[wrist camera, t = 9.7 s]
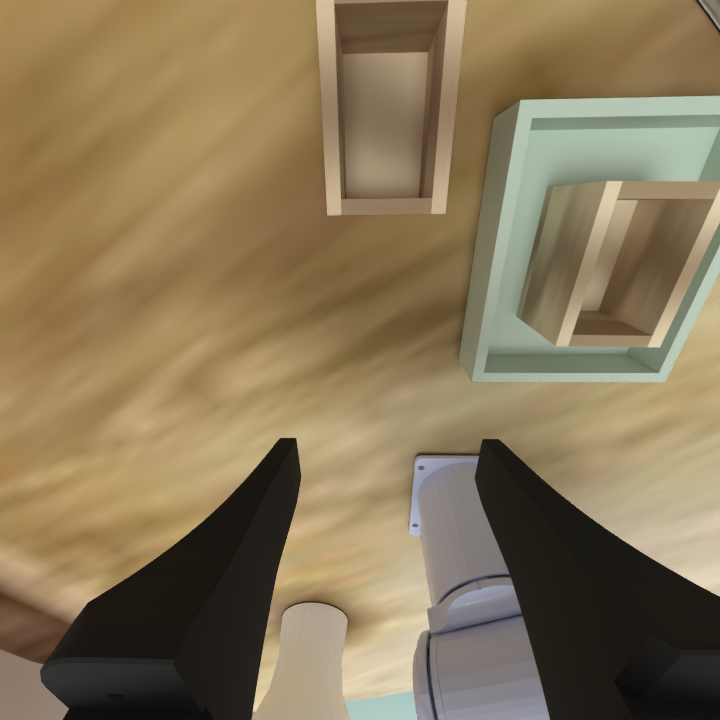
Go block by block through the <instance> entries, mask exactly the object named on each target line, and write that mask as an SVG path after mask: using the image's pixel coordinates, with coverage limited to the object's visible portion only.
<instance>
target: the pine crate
mask: <svg viewBox="0 0 720 720" xmlns="http://www.w3.org/2000/svg"><path fill="white" fill-rule="evenodd" d="M719 222H720V181H602V182H592V183H582V184H572V185H561V186H551V187H547V190H546V194H545V198H544V202H543V207H542V211H541V215H540V219H539V223H538V228H537V232H536V236H535V240H534V244H533V248H532V253H531V257H530V261H529V265H528V269H527V274H526V278H525V282H524V286H523V290H522V295H521V299H520V303H519V307H518V311H517V315H516V317H518V318H519V319H520V320H522V321H523V322H524V323H525V324H527V325H528V326H529V327H531V328H532V329H533V330H535V331H536V332H537V333H539V334H540V335H541V336H543V337H544V338H545V339H547V340H548V341H549V342H551V343H552V344H553V345H555V346H576V347H657V348H660V346H661V344H662V342H663V340H664V338H665V336H666V334H667V331H668V329H669V327H670V325H671V323H672V321H673V319H674V317H675V315H676V313H677V311H678V308H679V306H680V304H681V302H682V300H683V298H684V296H685V294H686V292H687V290H688V287H689V285H690V283H691V281H692V279H693V277H694V275H695V273H696V271H697V269H698V267H699V264H700V262H701V260H702V258H703V256H704V254H705V252H706V250H707V248H708V246H709V243H710V241H711V239H712V237H713V235H714V233H715V231H716V229H717V227H718V225H719Z"/></svg>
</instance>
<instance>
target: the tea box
mask: <svg viewBox="0 0 720 720" xmlns="http://www.w3.org/2000/svg"><path fill="white" fill-rule="evenodd" d="M698 1H699V2H700V3H701V4H702V6H703V7H704V9H705V10H706V11H707V12H708V14H709V15H710V16H711V18H712V19H713V21H714V22H715V23H716V25H717V26H718V28H719V29H720V0H698Z"/></svg>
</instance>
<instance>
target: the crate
mask: <svg viewBox="0 0 720 720" xmlns="http://www.w3.org/2000/svg"><path fill="white" fill-rule="evenodd" d="M466 4H467V0H316V10H317V29H318V48H319V67H320V86H321V105H322V124H323V143H324V162H325V181H326V199H327V215H392V214H445V213H446V203H447V193H448V183H449V173H450V163H451V153H452V143H453V133H454V123H455V113H456V104H457V94H458V84H459V74H460V64H461V54H462V44H463V34H464V24H465V14H466Z"/></svg>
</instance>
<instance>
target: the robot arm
mask: <svg viewBox="0 0 720 720" xmlns="http://www.w3.org/2000/svg"><path fill="white" fill-rule="evenodd" d="M421 465H422V466H421ZM419 466H421V467H419ZM300 481H301V471H300V464H299V456H298V448H297V441H296V438H280V439H279V440H278V441H277V443H276V444H275V445H274V446H273V448H272V449H271V450H270V451H269V453H268V454H267V455H266V456H265V458H264V459H263V460H262V461H261V462H260V464H259V465H258V466H257V467H256V468H255V469H254V470H253V472H252V473H251V474H250V475H249V476H248V477H247V479H246V480H245V481H244V482H243V483H242V484H241V485H240V486H239V487H238V488H237V489H236V490H235V491H234V492H233V493H232V494H231V495H230V497H229V498H228V499H227V500H226V501H225V502H224V503H222V504H221V505H220V506H219V507H218V508H217V509H216V510H215V511H214V512H213V513H212V514H211V515H210V516H209V517H207V518H206V519H205V520H204V521H203V522H202V523H201V524H199V525H198V526H197V527H196V528H195V529H193V530H192V531H191V532H190V533H189V534H187V535H186V536H185V537H184V538H182V539H181V540H180V541H179V542H177V543H176V544H175V545H174V546H172V547H171V548H170V549H168V550H167V551H166V552H164V553H163V554H161V555H160V556H159V557H157V558H156V559H155V560H153V561H152V562H150V563H149V564H147V565H146V566H145V567H143V568H142V569H140V570H139V571H137V572H136V573H134V574H133V575H131V576H130V577H128V578H127V579H125V580H124V581H122V582H120V583H119V584H117V585H116V586H114V587H112V588H111V589H109V590H108V591H106V592H105V593H103V594H101V595H100V596H98V597H97V598H95V599H93V600H92V601H90V602H88V603H87V605H86V606H85V607H84V609H83V610H82V611H81V613H80V614H79V615H78V616H77V618H76V619H75V620H74V622H73V623H72V625H71V626H70V628H69V629H68V631H67V632H66V633H65V635H64V636H63V638H62V639H61V641H60V642H59V644H58V645H57V646H56V648H55V649H54V651H53V652H52V654H51V655H50V657H49V658H48V659H47V661H46V662H45V664H44V665H43V667H42V668H41V670H40V674H41V681H42V683H43V684H44V685H45V686H46V688H47V689H48V690H49V691H51V692H52V693H53V694H54V695H55V696H56V697H57V698H58V699H59V700H60V701H62V703H64V704H65V705H66V706H67V707H68V708H69V710H68V712H67V713H66V715H65V717H64V719H63V720H251V718H252V711H253V705H254V698H255V692H256V686H257V679H258V673H259V667H260V661H261V655H262V650H263V644H264V638H265V632H266V627H267V622H268V616H269V611H270V605H271V600H272V595H273V590H274V585H275V580H276V575H277V571H278V567H279V563H280V559H281V556H282V552H283V549H284V545H285V542H286V539H287V535H288V532H289V528H290V525H291V521H292V518H293V514H294V511H295V507H296V504H297V499H298V493H299V487H300ZM409 534H410V535H412V536H421V542H422V549H423V555H424V561H425V568H426V574H427V580H428V586H429V593H430V599H431V603H432V607H431V608H428V609H427V613H428V620H429V627H430V630H426V631H424V632H422V633H421V635H420V637H419V640H418V643H417V648H416V650H415V654H414V659H413V689H414V699H415V706H416V713H417V719H418V720H720V597H719V596H717V595H715V594H713V593H711V592H710V591H708V590H706V589H704V588H702V587H700V586H698V585H696V584H694V583H693V582H691V581H689V580H687V579H686V578H684V577H682V576H680V575H679V574H677V573H675V572H673V571H672V570H670V569H668V568H666V567H665V566H663V565H661V564H660V563H658V562H656V561H655V560H653V559H651V558H650V557H648V556H646V555H645V554H643V553H642V552H640V551H638V550H637V549H635V548H634V547H632V546H631V545H629V544H628V543H626V542H624V541H623V540H621V539H620V538H618V537H617V536H615V535H614V534H612V533H611V532H609V531H608V530H606V529H605V528H604V527H602V526H601V525H600V524H598V523H597V522H595V521H594V520H593V519H591V518H590V517H588V516H587V515H586V514H584V513H583V512H582V511H580V510H579V509H578V508H576V507H575V506H574V505H573V504H571V503H570V502H569V501H568V500H566V499H565V498H564V497H563V496H561V495H560V494H559V493H558V492H556V491H555V490H554V489H553V488H552V487H551V486H549V485H548V484H547V483H546V482H545V481H544V480H543V479H541V478H540V477H539V476H538V475H537V474H536V473H535V472H534V471H532V470H531V469H530V468H529V467H528V466H527V465H526V464H525V463H524V462H523V461H522V460H521V459H519V458H518V457H517V456H516V455H515V454H514V453H513V452H512V451H511V450H510V449H509V448H508V447H507V446H506V445H504V444H503V443H502V442H501V441H500V440H499V439H483V440H482V445H481V449H480V454H479V456H443V455H420V456H417V457H416V458H415V464H414V475H413V486H412V497H411V508H410V520H409Z"/></svg>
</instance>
